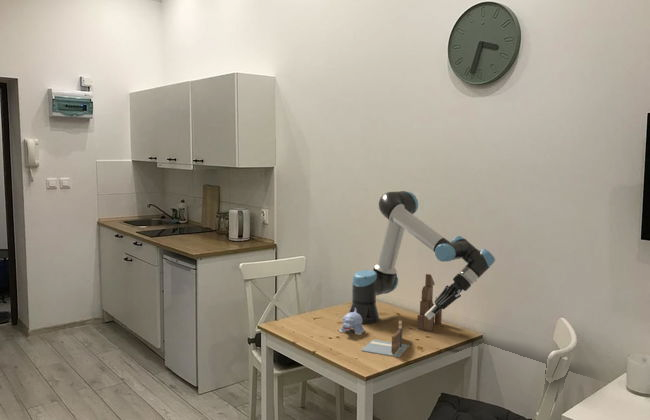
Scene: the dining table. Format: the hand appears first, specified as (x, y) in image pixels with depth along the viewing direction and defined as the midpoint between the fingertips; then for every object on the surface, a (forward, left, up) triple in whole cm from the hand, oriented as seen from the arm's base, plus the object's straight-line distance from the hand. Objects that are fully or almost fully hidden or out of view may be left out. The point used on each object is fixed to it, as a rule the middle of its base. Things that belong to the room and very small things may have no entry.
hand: (426, 317), depth 232 cm
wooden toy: (-3, +23, -11) cm, 26 cm away
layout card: (-13, -17, -11) cm, 24 cm away
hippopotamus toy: (-34, -3, -11) cm, 36 cm away
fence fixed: (-8, -18, -11) cm, 22 cm away
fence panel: (-10, -6, -10) cm, 15 cm away
